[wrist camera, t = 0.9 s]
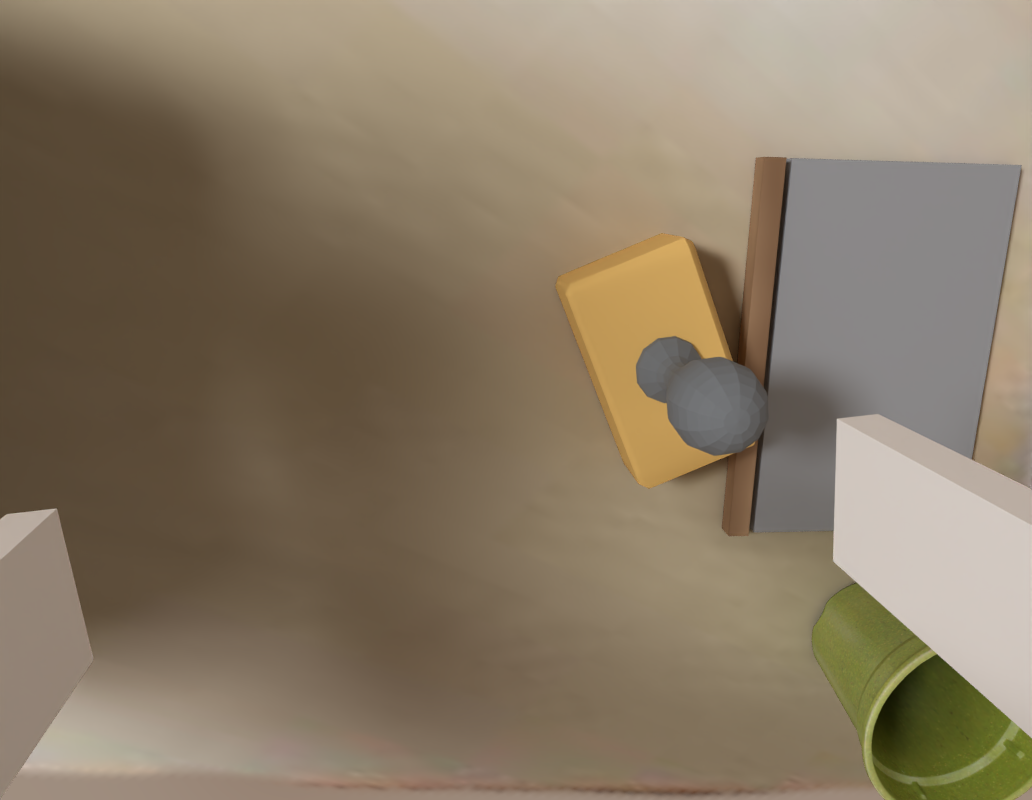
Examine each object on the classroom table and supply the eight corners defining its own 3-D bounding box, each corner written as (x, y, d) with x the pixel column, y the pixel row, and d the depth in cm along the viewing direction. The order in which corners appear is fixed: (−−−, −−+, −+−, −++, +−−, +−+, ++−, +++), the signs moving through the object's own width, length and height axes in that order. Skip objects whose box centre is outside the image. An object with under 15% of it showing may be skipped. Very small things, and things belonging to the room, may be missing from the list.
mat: (749, 527, 41) (754, 532, 41) (786, 158, 37) (792, 158, 36) (952, 523, 43) (959, 528, 42) (1012, 165, 38) (1021, 165, 38)
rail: (721, 527, 41) (728, 535, 40) (756, 157, 37) (764, 156, 36) (741, 527, 41) (748, 535, 40) (777, 158, 37) (786, 157, 36)
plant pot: (921, 519, 42) (1042, 599, 34) (968, 662, 45) (1091, 770, 36) (757, 594, 42) (837, 692, 34) (813, 732, 45) (900, 856, 37)
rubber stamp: (733, 421, 40) (855, 514, 28) (624, 466, 40) (702, 578, 28) (667, 230, 37) (773, 248, 26) (551, 278, 37) (605, 318, 26)
